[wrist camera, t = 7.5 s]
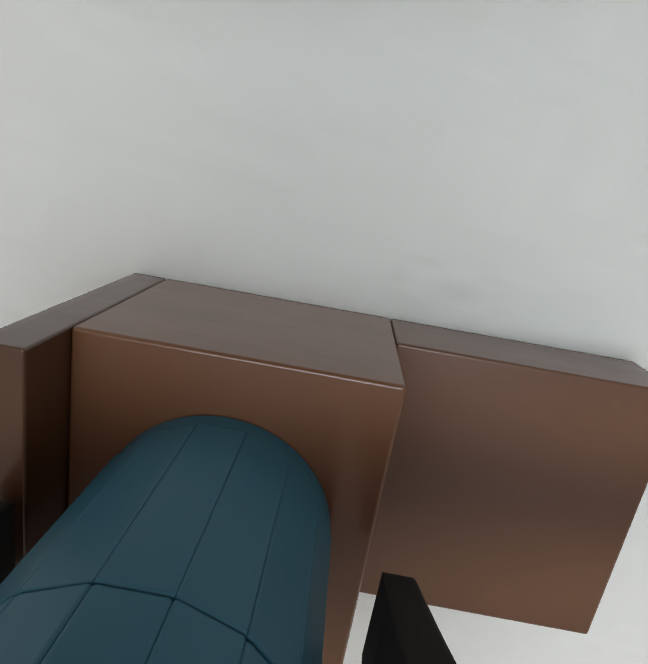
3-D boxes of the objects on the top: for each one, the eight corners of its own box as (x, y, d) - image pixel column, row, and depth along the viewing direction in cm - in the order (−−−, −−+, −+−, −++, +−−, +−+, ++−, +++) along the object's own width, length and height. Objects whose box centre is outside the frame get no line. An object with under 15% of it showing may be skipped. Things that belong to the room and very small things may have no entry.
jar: (310, 630, 12) (270, 1020, 7) (98, 590, 12) (-126, 943, 7) (349, 438, 11) (340, 726, 5) (108, 394, 11) (-169, 630, 5)
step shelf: (557, 574, 18) (676, 810, 11) (120, 494, 18) (-20, 678, 11) (634, 361, 16) (842, 497, 9) (134, 272, 16) (-31, 339, 9)
